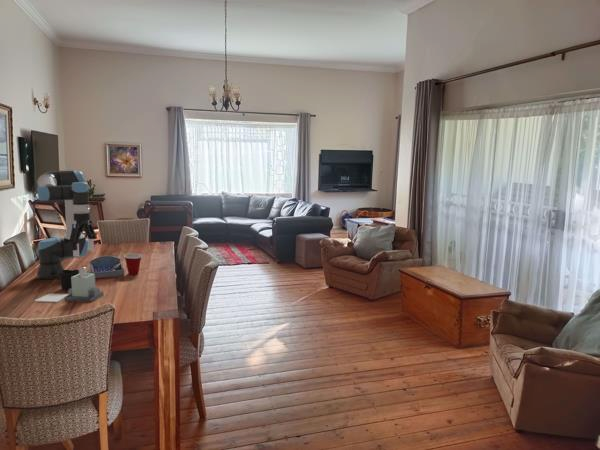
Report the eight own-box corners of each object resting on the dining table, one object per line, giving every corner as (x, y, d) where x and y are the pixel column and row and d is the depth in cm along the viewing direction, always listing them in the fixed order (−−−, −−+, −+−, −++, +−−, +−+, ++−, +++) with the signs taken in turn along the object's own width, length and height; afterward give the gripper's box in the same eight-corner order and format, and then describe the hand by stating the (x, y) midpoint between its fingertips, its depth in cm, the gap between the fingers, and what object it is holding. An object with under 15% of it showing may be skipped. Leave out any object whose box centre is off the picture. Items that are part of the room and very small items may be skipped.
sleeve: (72, 296, 224) (71, 277, 223) (81, 291, 232) (80, 273, 231) (87, 296, 224) (86, 277, 222) (95, 292, 231) (94, 273, 230)
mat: (34, 301, 221) (34, 300, 221) (49, 294, 233) (49, 293, 233) (57, 302, 220) (57, 301, 220) (71, 295, 232) (71, 294, 232)
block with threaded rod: (64, 300, 223) (62, 270, 220) (78, 293, 235) (76, 264, 232) (90, 301, 222) (89, 271, 219) (103, 294, 233) (101, 265, 231)
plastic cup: (136, 276, 271) (136, 257, 269) (121, 275, 273) (120, 256, 271) (146, 272, 281) (145, 253, 280) (131, 271, 283) (130, 253, 282)
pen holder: (67, 291, 238) (65, 273, 236) (57, 289, 243) (56, 271, 241) (83, 287, 246) (82, 270, 244) (73, 285, 251) (72, 268, 249)
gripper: (74, 215, 210) (77, 258, 213) (101, 210, 235) (103, 249, 238) (59, 215, 211) (62, 258, 214) (88, 210, 236) (90, 248, 239)
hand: (84, 253), depth 226 cm, fingers open, 13 cm apart
